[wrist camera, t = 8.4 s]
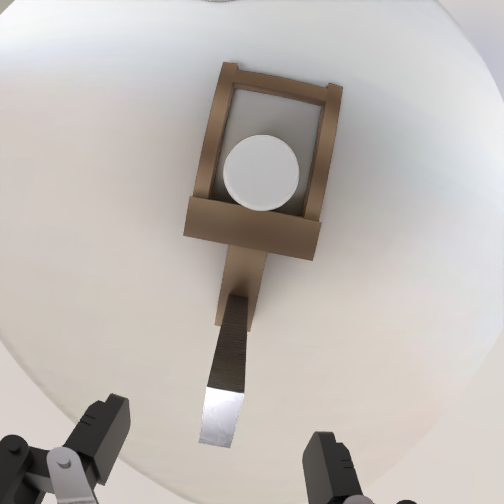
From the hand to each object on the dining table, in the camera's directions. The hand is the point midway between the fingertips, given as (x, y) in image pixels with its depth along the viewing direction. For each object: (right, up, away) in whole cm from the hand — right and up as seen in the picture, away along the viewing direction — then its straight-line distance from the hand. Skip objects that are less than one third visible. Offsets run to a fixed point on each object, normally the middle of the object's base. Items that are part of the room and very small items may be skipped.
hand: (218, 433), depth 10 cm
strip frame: (+2, +12, +13) cm, 18 cm away
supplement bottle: (+2, +14, +13) cm, 19 cm away
